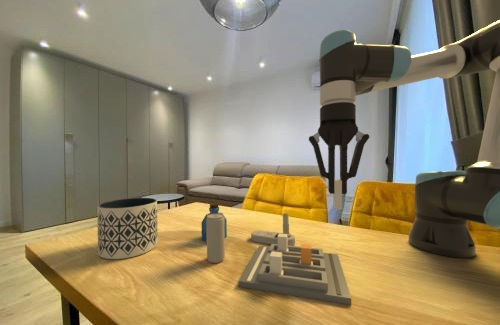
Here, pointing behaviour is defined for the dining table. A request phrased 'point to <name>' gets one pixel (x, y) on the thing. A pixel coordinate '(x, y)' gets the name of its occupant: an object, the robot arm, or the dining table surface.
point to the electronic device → (273, 234)
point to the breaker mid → (306, 254)
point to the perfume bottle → (213, 210)
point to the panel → (298, 275)
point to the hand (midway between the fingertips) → (337, 208)
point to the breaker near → (276, 263)
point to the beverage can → (215, 238)
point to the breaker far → (282, 242)
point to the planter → (127, 227)
